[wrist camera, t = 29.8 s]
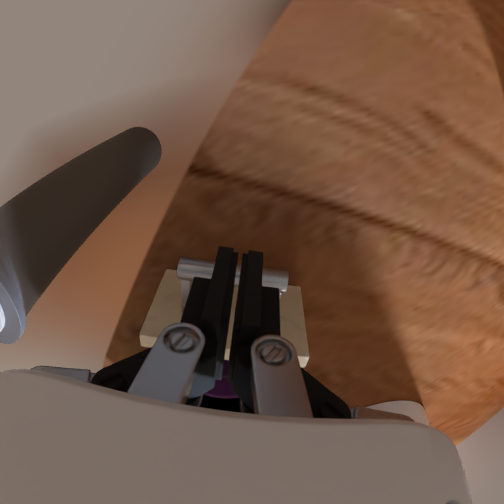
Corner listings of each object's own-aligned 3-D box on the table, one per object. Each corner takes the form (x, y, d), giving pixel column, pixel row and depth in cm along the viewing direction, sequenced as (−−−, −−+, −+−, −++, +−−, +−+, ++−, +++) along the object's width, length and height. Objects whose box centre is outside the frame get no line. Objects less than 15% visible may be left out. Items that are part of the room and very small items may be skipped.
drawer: (166, 220, 24) (131, 280, 18) (312, 239, 25) (329, 306, 18) (171, 363, 33) (156, 423, 27) (273, 377, 34) (273, 438, 27)
